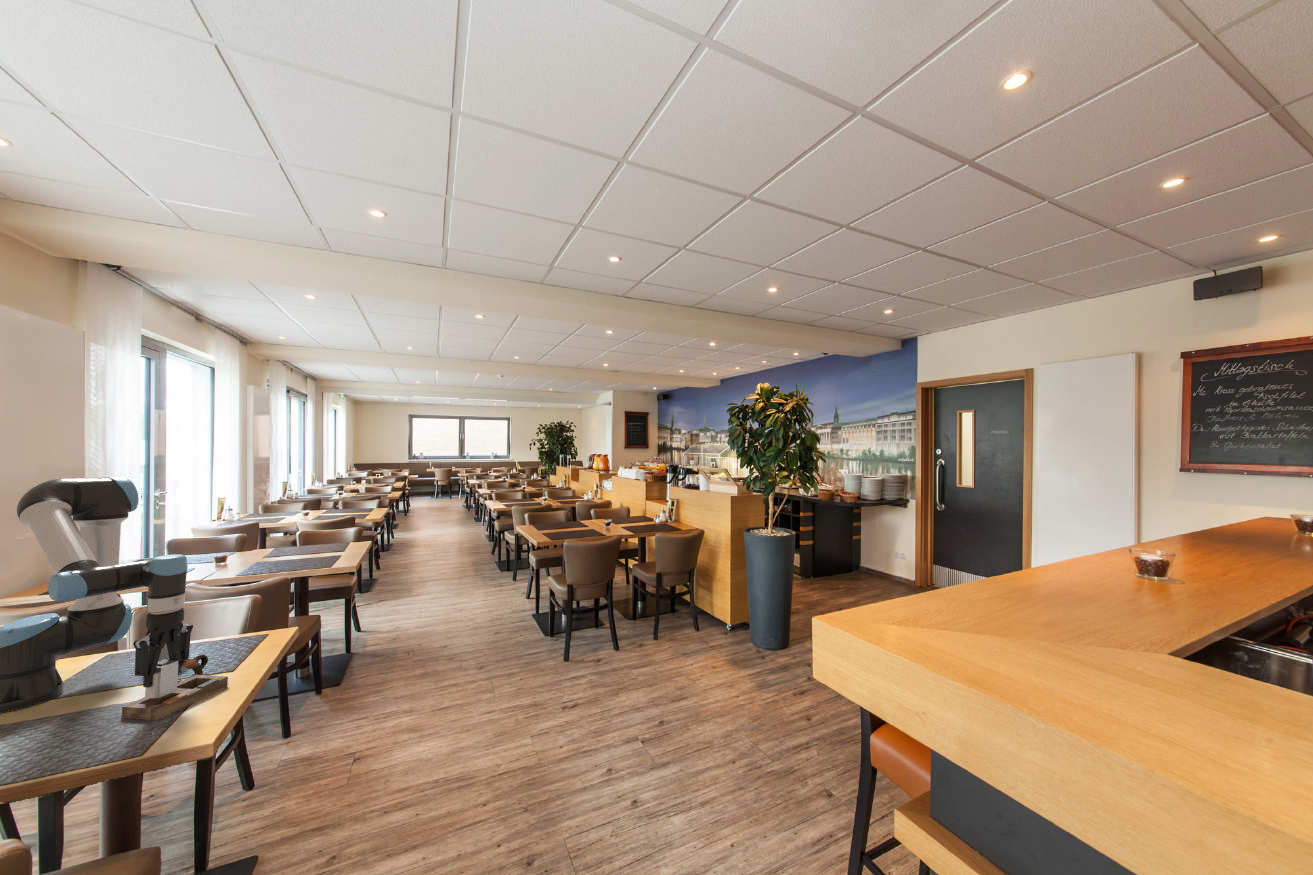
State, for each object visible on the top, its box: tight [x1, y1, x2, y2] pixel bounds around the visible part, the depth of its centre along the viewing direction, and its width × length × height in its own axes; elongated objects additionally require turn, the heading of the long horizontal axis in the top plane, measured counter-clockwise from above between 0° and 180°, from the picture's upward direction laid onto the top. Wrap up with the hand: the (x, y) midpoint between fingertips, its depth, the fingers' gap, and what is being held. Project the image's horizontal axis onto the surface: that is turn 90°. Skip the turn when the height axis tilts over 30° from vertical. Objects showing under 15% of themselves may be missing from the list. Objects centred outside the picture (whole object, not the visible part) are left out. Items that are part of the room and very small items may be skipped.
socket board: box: [121, 674, 229, 721], centre depth 137 cm, size 11×19×3 cm, turn 175°
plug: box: [155, 659, 179, 698], centre depth 133 cm, size 4×4×9 cm
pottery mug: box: [180, 654, 209, 678], centre depth 151 cm, size 12×10×8 cm
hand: (161, 692), depth 133 cm, fingers closed on plug, 4 cm apart
